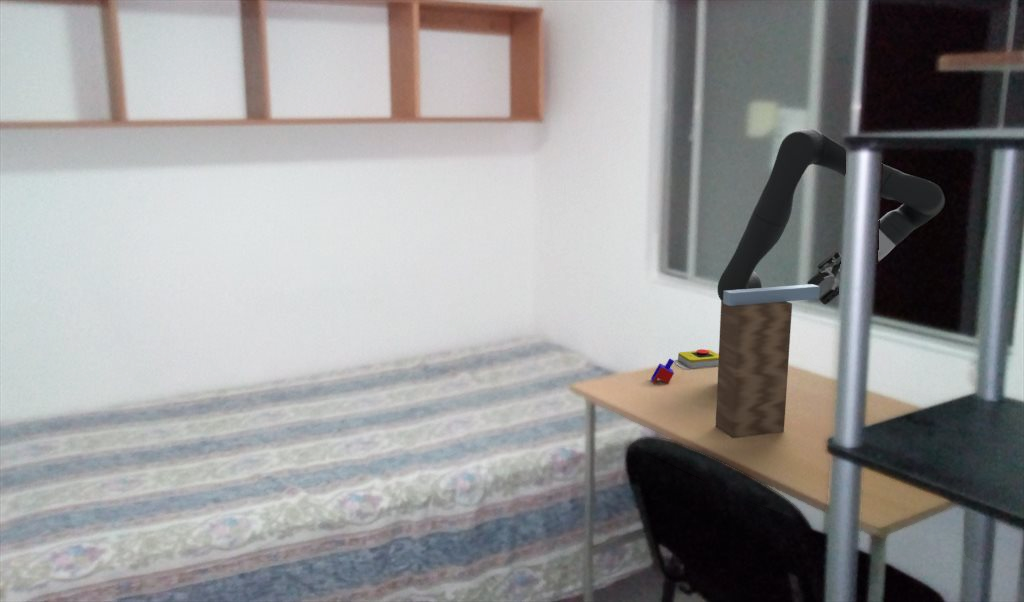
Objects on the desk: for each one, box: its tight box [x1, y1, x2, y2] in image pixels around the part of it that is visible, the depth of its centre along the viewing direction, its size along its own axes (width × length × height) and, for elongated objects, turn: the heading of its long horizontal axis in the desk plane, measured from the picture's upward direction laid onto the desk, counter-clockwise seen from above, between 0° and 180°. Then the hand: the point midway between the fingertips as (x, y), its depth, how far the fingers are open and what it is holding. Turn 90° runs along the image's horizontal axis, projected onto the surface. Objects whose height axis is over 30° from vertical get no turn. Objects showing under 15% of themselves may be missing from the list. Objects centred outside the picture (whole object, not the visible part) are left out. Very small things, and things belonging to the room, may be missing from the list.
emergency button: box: [673, 348, 719, 370], centre depth 251 cm, size 9×4×15 cm
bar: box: [723, 284, 821, 306], centre depth 191 cm, size 24×3×3 cm, turn 105°
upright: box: [715, 300, 793, 439], centre depth 194 cm, size 14×8×32 cm, turn 105°
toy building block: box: [650, 357, 675, 384], centre depth 233 cm, size 4×4×8 cm
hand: (815, 293), depth 197 cm, fingers open, 8 cm apart
